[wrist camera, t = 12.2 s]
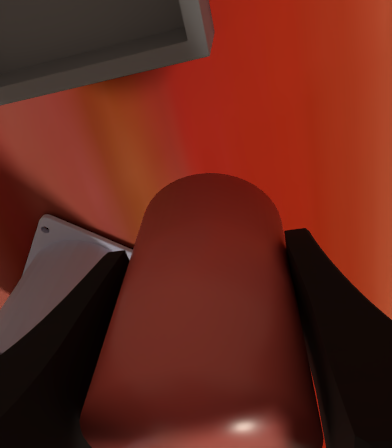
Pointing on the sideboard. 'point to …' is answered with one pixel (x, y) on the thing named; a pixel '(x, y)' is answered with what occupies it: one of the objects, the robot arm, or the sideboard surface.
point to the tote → (94, 41)
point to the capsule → (205, 330)
